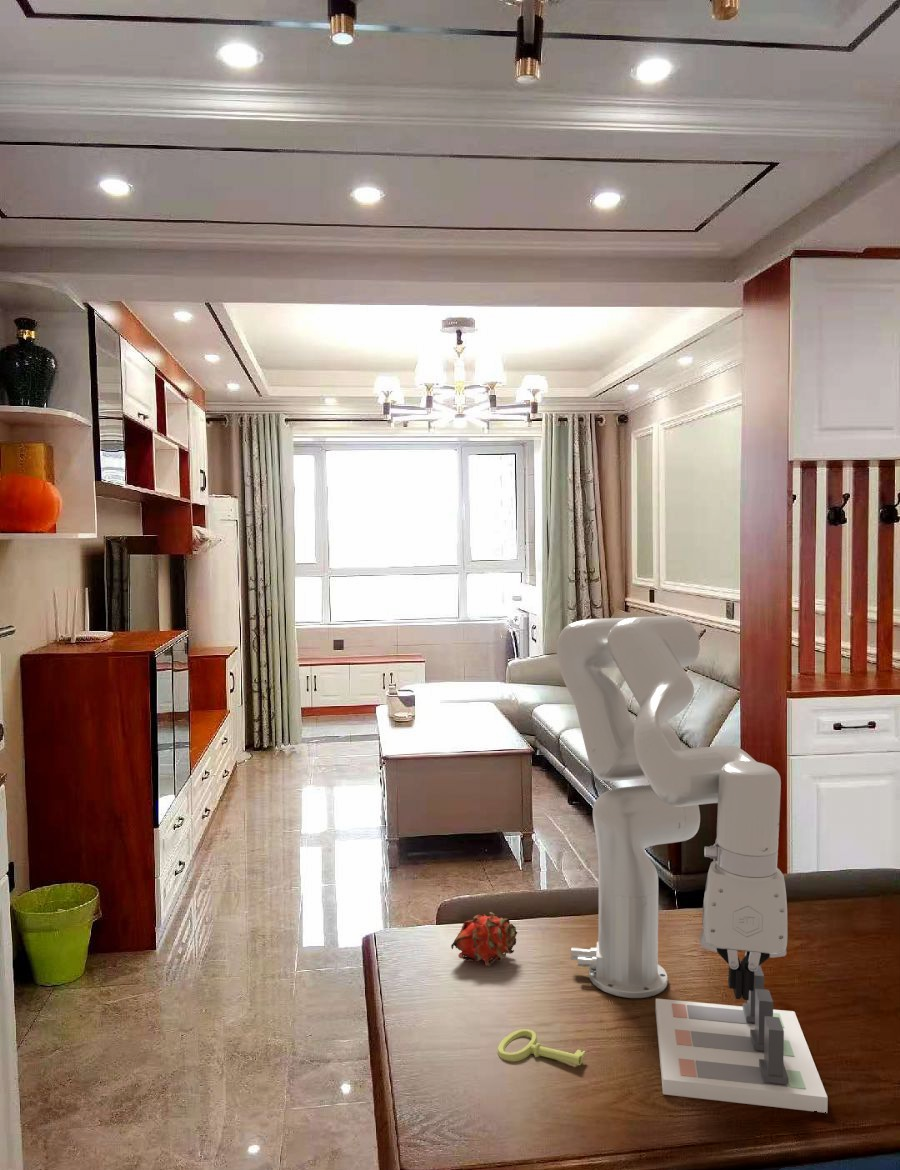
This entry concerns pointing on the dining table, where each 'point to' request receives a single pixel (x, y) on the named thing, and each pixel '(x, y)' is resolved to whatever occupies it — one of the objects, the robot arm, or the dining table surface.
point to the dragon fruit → (485, 939)
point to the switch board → (731, 1057)
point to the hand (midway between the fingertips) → (740, 993)
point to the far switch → (753, 996)
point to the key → (536, 1049)
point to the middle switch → (761, 1017)
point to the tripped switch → (773, 1052)
